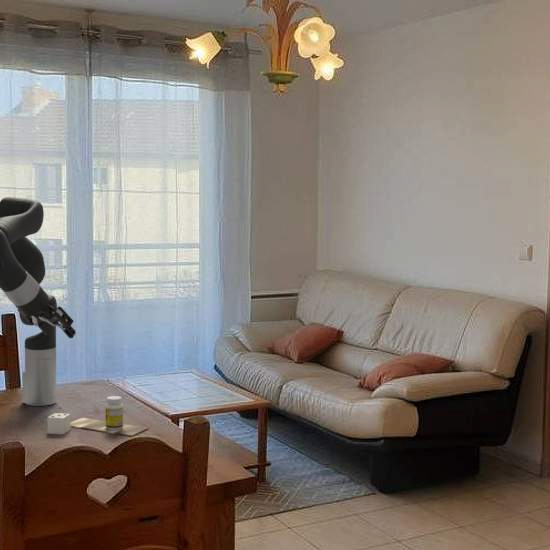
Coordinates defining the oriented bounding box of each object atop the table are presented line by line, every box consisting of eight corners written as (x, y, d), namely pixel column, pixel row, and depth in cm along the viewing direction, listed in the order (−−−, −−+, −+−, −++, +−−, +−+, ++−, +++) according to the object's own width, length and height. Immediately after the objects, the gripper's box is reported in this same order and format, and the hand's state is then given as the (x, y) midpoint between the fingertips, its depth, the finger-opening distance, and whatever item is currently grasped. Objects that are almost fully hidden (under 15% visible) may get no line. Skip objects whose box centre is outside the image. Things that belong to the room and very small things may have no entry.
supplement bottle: (106, 425, 225) (106, 395, 224) (123, 425, 225) (124, 395, 225) (104, 430, 220) (104, 399, 220) (122, 430, 221) (122, 399, 220)
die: (47, 433, 218) (47, 416, 217) (54, 429, 222) (54, 412, 222) (63, 434, 217) (63, 418, 217) (70, 430, 221) (70, 413, 221)
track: (64, 425, 225) (64, 424, 225) (82, 419, 232) (82, 417, 232) (131, 436, 216) (131, 435, 216) (148, 429, 223) (148, 427, 223)
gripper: (54, 283, 193) (89, 324, 204) (13, 279, 201) (49, 319, 212) (37, 307, 189) (73, 348, 200) (-4, 302, 197) (33, 342, 208)
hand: (61, 333), depth 206 cm, fingers open, 8 cm apart
